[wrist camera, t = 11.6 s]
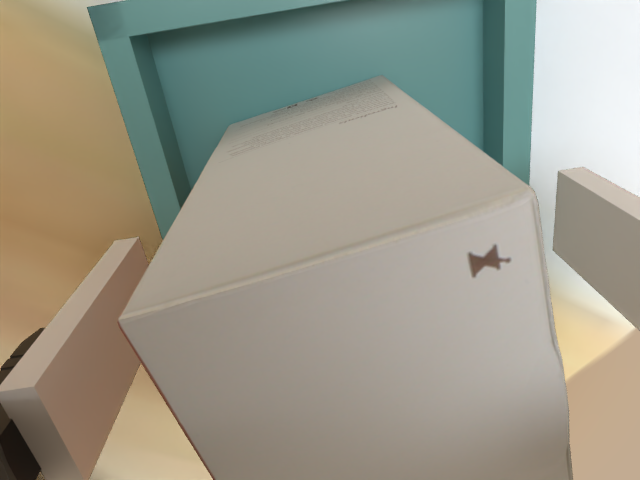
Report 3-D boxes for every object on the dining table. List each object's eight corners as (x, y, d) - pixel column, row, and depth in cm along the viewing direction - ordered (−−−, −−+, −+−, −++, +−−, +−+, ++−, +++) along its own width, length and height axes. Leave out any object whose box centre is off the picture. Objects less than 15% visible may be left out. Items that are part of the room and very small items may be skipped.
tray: (221, 358, 24) (213, 396, 22) (115, 8, 17) (86, 7, 15) (500, 316, 24) (522, 350, 21) (505, -59, 17) (539, -71, 14)
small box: (225, 123, 18) (98, 315, 7) (384, 70, 18) (551, 178, 6) (293, 293, 22) (289, 619, 10) (429, 253, 21) (592, 550, 9)
